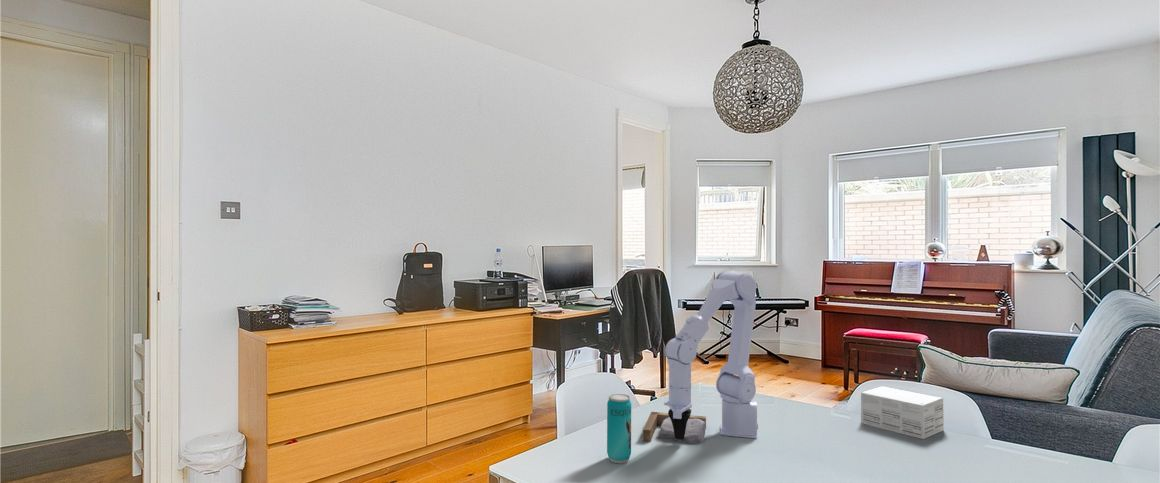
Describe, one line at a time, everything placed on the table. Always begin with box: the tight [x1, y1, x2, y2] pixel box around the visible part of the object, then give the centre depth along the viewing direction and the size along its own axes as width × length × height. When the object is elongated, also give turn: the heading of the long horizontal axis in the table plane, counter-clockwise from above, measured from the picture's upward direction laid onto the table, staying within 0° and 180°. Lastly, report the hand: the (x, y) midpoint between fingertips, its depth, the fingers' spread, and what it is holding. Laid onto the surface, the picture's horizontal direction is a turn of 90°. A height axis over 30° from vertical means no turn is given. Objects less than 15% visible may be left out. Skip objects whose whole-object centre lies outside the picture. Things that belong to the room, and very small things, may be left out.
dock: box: [642, 411, 707, 443], centre depth 147 cm, size 16×16×3 cm
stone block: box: [659, 417, 707, 444], centre depth 146 cm, size 12×5×10 cm
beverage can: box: [606, 393, 632, 464], centre depth 129 cm, size 6×6×15 cm
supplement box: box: [860, 385, 945, 440], centre depth 155 cm, size 17×13×9 cm
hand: (679, 438), depth 140 cm, fingers closed
